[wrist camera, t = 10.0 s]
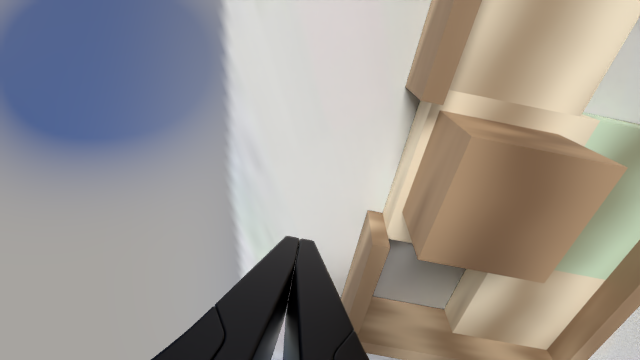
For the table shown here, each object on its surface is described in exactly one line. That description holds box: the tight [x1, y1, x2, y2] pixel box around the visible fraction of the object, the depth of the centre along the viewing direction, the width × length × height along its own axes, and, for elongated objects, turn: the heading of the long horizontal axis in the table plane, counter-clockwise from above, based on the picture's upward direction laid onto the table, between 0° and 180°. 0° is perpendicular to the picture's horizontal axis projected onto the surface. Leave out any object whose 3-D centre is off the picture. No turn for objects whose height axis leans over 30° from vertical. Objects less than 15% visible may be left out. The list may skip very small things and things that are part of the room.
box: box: [341, 0, 640, 360], centre depth 15 cm, size 16×29×4 cm, turn 170°
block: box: [402, 110, 627, 283], centre depth 14 cm, size 6×6×4 cm
